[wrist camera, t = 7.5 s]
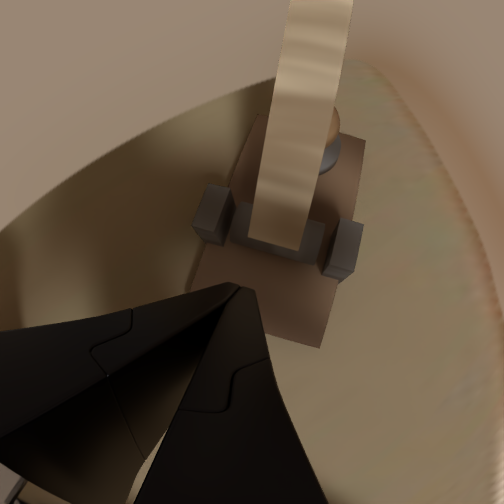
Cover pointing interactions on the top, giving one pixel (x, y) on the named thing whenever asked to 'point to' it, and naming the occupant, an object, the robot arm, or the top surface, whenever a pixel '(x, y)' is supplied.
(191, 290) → the base
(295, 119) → the lever
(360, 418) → the top surface
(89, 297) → the top surface
